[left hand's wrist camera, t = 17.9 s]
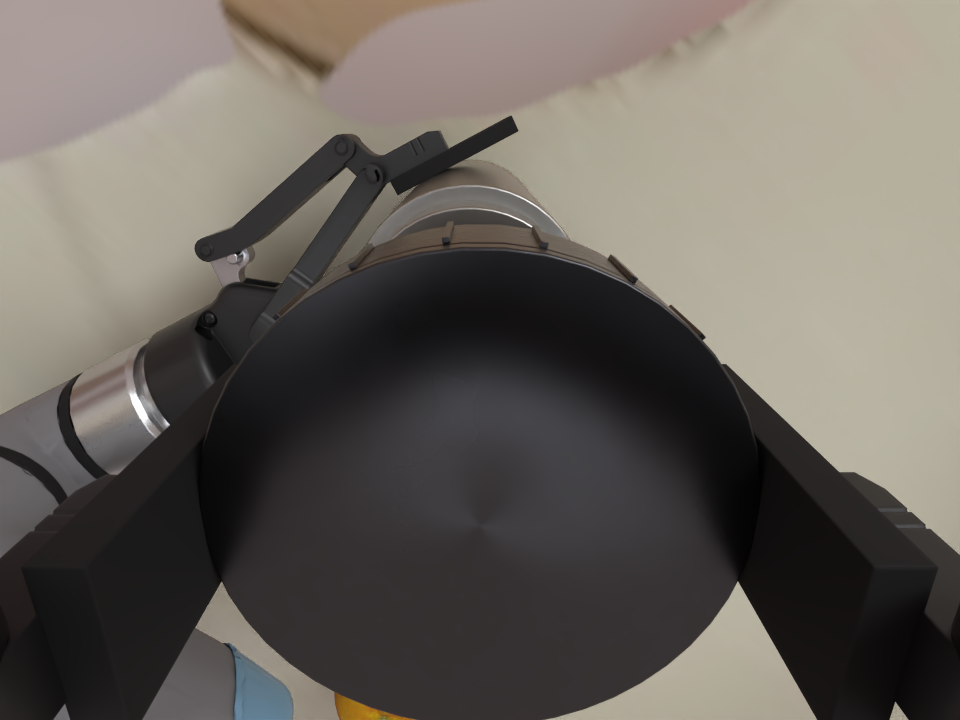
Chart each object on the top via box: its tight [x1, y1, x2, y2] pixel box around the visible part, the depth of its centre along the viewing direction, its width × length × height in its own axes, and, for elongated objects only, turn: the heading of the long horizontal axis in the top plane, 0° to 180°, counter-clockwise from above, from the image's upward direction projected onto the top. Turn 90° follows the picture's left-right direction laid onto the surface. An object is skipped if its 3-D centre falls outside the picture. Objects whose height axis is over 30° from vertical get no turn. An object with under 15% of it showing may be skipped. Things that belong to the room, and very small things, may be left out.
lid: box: [199, 221, 761, 720], centre depth 11 cm, size 9×9×2 cm
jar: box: [367, 160, 570, 247], centre depth 29 cm, size 8×8×19 cm
